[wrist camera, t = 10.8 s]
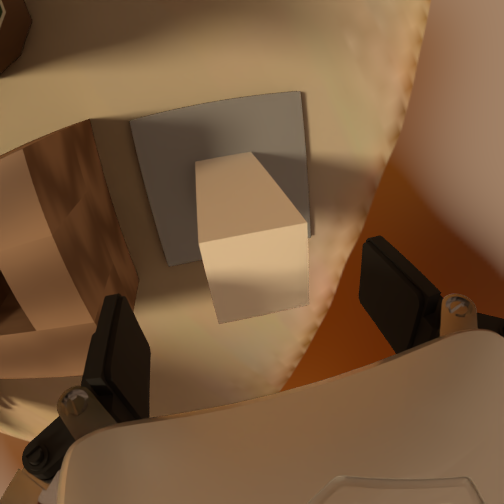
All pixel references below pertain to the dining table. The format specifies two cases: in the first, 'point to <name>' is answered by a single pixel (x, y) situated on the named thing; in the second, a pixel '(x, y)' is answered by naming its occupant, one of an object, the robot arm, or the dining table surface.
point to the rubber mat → (212, 146)
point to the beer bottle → (12, 30)
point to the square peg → (249, 239)
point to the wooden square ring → (56, 254)
